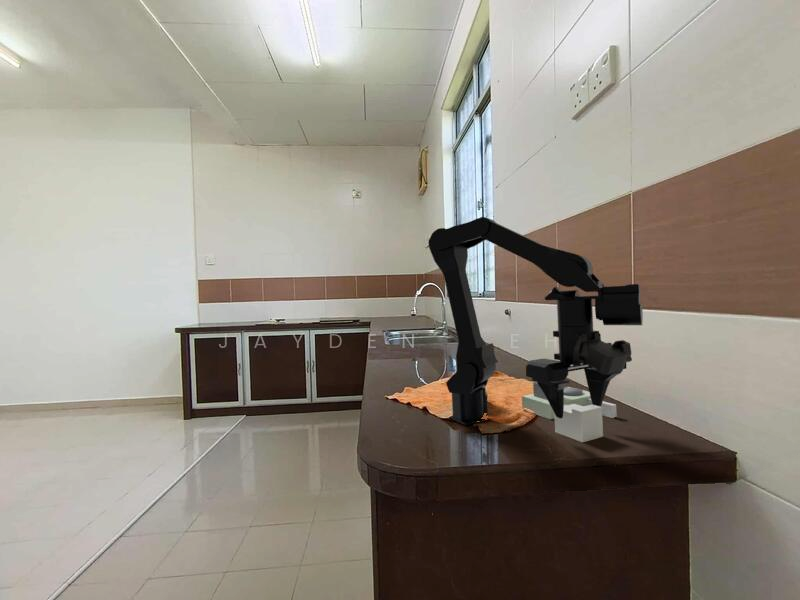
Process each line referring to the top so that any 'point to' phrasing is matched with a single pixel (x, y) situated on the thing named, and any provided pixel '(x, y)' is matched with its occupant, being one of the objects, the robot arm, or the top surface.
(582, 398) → the green block with prongs
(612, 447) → the top surface
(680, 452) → the top surface
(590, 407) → the white lidded box
